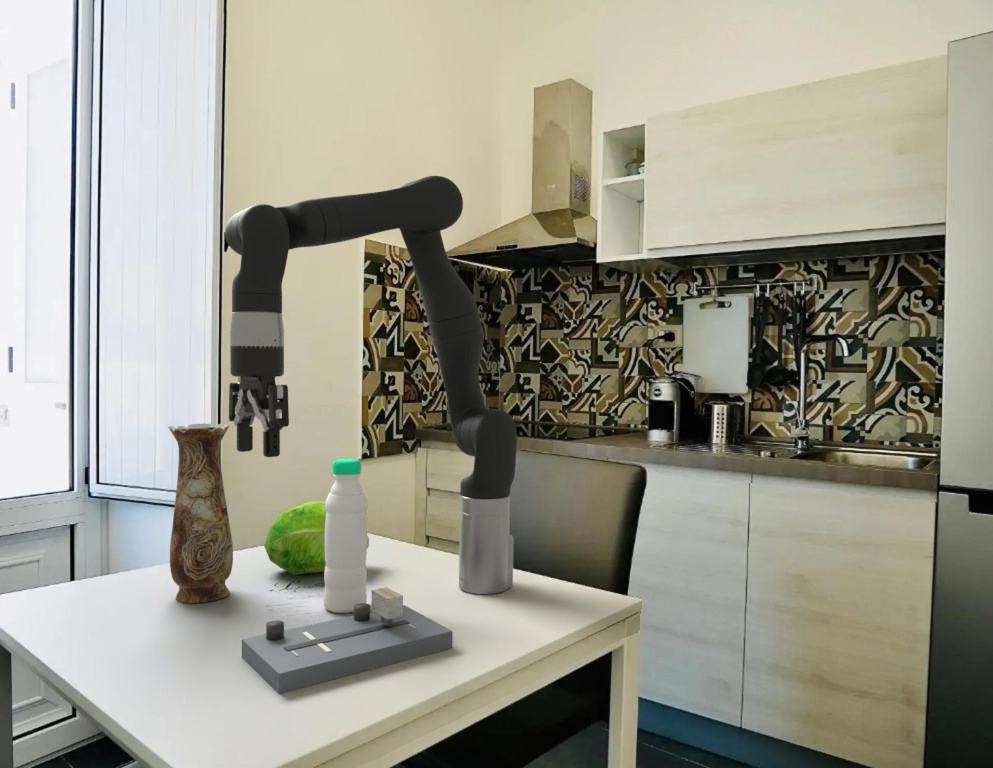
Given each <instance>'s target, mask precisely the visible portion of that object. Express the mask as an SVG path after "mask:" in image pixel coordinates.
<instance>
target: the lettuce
mask: <svg viewBox="0 0 993 768" xmlns="http://www.w3.org/2000/svg"><path fill="white" fill-rule="evenodd" d="M325 502H326V501H318V500H317V501H307V502H303V503H301V504H299V505H296V506H294V507H291V508H290V509H287V510H285V511H284V512H282V513H280V515H279V516H278V517H277V518H276V519H275V521H274V522H273V524H272V525H271V526H270V527H269V530H268V533H267V536H266V539H265V542H264V545H263V546H264V549H265V552H266V554H267V556H268V559H269V561H270V562H271V563H273V564H274V565H276V566H277V567H278V568H280V569H282V570H284V571H286V572H288V573H290V574H292V575H301V574H302V575H303V574H315V573H323V572H325V567H326V562H325V520H326V509H325ZM369 547H370V538H369V535H367V550H368V549H369Z"/></svg>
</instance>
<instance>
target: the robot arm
mask: <svg viewBox="0 0 993 768" xmlns="http://www.w3.org/2000/svg"><path fill="white" fill-rule="evenodd" d="M463 206H464V200H463V196H462V192H461V190H460V189H459V187H458V185H457V184H455V183H454V181H452V180H451V179H449V178H448V177H445V176H441V175H429V176H425V177H422V178H420V179H417V180H416V179H415V180H414V181H410V182H408V183H405V184H404V185H402V186H401V187H398V188H397V187H396V188H394V189H392V188H391V189H388V190H382V191H376V192H367V193H357V194H347V195H337V196H329V197H322V198H321V197H320V198H315V199H314V198H313V199H312V198H311V199H305V200H302V201H298V202H295V203H292V204H289V205H286V206H277V207H275V206H273V205H270V204H264V203H261V204H255V205H253V206H250V207H248V208H244V209H242V210H240V211H238V212H236V213H235V214H233V215H232V216H231V217H230V218H229V219H228V221H227V223H226V226H225V230H224V236H225V240H226V243H227V244H228V246H229V247H230V249H232V250H233V251H234V252H235V253H236V254H238V255H240V256H241V258H240V259H241V260H240V266H239V267H240V268H239V271H238V272H237V273H236V274H235V276H234V277H233V279H232V284H231V285H232V286H231V311H232V312H231V319H230V320H231V321H230V330H229V332H230V335H229V336H230V337H229V338H230V340H229V341H230V342H229V343H230V348H229V349H230V354H229V355H230V356H229V357H230V372H229V373H230V374H231V376H233V377H236V378H237V377H240V381H239V382H230V383H229V390H228V392H229V394H228V420H229V422H233V425H234V426H235V427H236V450H237V452H242V453H244V452H251V451H253V447H254V443H253V441H254V440H253V439H254V438H253V437H254V436H253V433H254V432H253V429H254V428H253V423H254V421H255V420H254V419H255V417H256V418H257V419H258V420H260V422H261V423H260V424H261V425H262V428H263V432H262V433H263V434H262V436H263V437H262V438H263V441H262V445H263V447H262V450H263V451H262V453H263V456H264V458H276V457H279V456H280V454H281V451H280V450H281V447H280V446H281V443H280V442H281V436H280V435H281V431H282V430H283V428H285V427H289V425H290V416H289V415H290V414H289V413H290V412H289V411H290V410H289V388H288V385H287V384H276V377H282V376H283V375H284V374H285V329H284V327H285V326H284V322H283V321H284V320H283V289H282V287H283V286H282V285H283V279H284V276H285V272H286V267H287V261H288V257H289V252H290V250H294V249H298V248H310V247H320V246H324V245H331V244H337V243H341V242H346V241H351V240H355V239H359V238H362V237H367V236H371V235H374V234H375V235H376V234H378V233H383V232H386V231H391V230H397V229H399V231H400V234H401V237H402V240H403V243H404V244H405V245H404V246H405V247H406V250H407V252H408V255H409V258H410V261H411V263H412V267H413V271H414V274H415V276H416V277H415V278H416V282H417V285H418V287H419V292H420V297H421V299H422V301H423V307H424V310H425V314H426V320H427V323H428V328H429V331H430V332H429V333H430V336H431V339H432V343H433V347H434V349H435V352H436V356H437V360H438V364H439V368H440V372H441V376H442V380H443V381H442V382H443V384H444V388H445V394H446V398H447V399H446V400H447V406H448V413H449V419H450V426H451V432H452V436H453V440H454V442H455V445H456V446H457V447H458V449H459V450H460V451H461V452H462V453H464V454H465V455H467V456H471V457H474V461H473V462H474V463H473V470H472V472H471V474H470V475H468V476H465V477H463V478H462V479H461V482H460V492H459V494H460V495H459V496H460V497H459V499H460V500H459V501H460V502H459V547H458V548H459V553H458V557H459V559H458V561H459V563H458V565H459V566H458V588H459V589H460V590H461V591H464V592H466V593H470V594H477V595H491V594H498V593H503V592H505V591H506V590H508V589H509V588H512V587H513V586H514V585H513V584H514V583H513V582H514V543H515V541H514V536H513V535H512V534H510V514H511V513H510V512H511V511H510V510H511V507H510V505H511V487H512V485H513V482H514V478H515V475H516V463H517V462H516V461H517V447H518V446H517V445H518V434H517V426H516V423H515V421H514V419H513V417H512V416H511V415H510V414H509V413H508V412H507V411H504V410H502V409H497V408H487V406H486V404H485V402H484V401H485V400H484V397H483V394H482V390H481V387H480V386H481V385H480V380H479V379H480V377H479V372H480V371H479V370H480V366H481V365H480V364H481V360H482V354H483V349H484V332H483V331H484V330H483V326H482V325H483V324H482V322H481V318H480V313H479V310H478V307H477V303H476V299H475V298H474V295H473V294H472V291H471V290H470V289H469V288H468V286H467V285H466V283H465V281H464V280H463V279H462V277H461V276H460V274H459V273H458V272H457V271H456V270H455V267H454V266H453V265H452V262H451V260H449V257H448V255H447V252H446V249H445V244H444V241H443V237H442V233H441V231H443V230H444V231H445V230H447V229H448V228H450V227H452V226H453V225H455V223H457V222H458V220H459V219H460V217H461V216H462V212H463V209H464V207H463ZM280 415H281V416H280Z"/></svg>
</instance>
